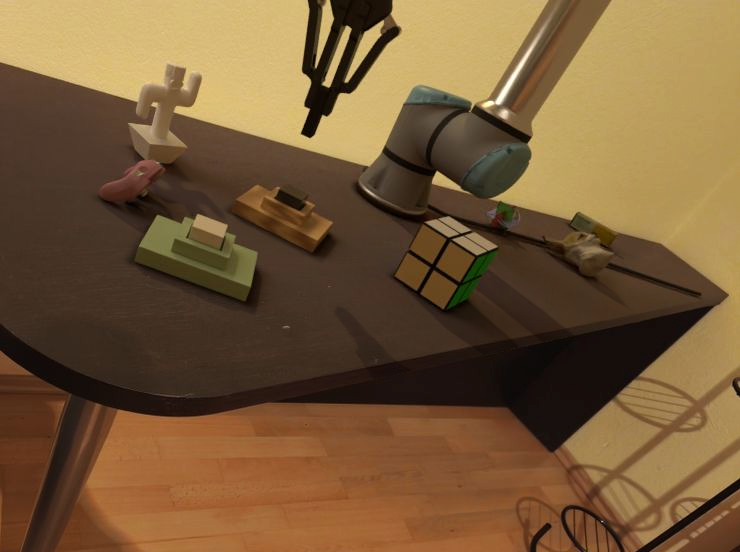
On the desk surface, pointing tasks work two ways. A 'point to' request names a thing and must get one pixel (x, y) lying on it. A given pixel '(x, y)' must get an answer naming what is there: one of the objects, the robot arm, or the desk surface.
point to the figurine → (163, 114)
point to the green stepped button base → (198, 258)
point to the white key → (208, 232)
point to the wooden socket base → (282, 217)
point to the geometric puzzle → (504, 216)
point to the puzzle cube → (445, 262)
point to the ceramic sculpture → (581, 251)
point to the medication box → (593, 228)
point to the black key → (292, 196)
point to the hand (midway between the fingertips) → (307, 134)
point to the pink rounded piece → (133, 182)
